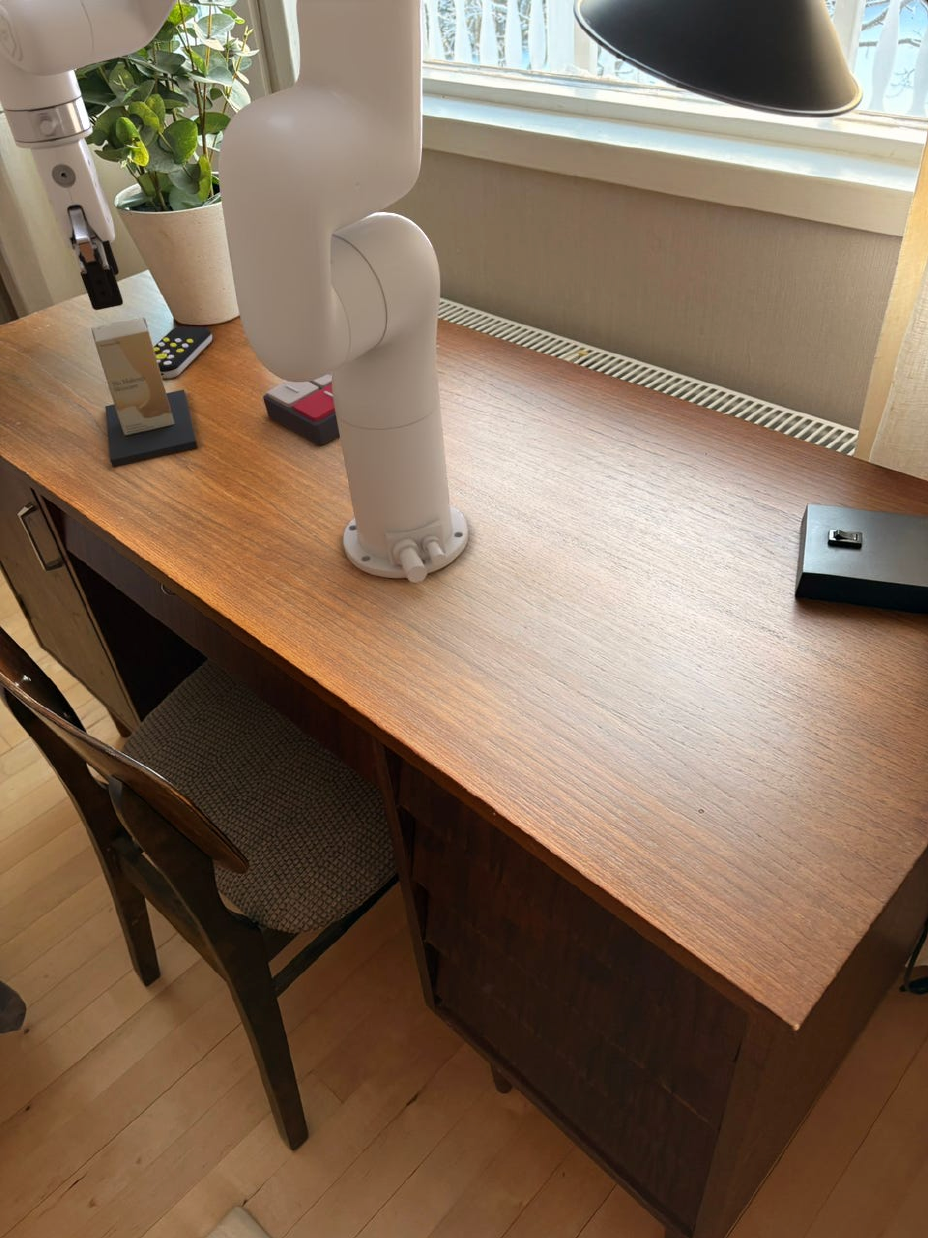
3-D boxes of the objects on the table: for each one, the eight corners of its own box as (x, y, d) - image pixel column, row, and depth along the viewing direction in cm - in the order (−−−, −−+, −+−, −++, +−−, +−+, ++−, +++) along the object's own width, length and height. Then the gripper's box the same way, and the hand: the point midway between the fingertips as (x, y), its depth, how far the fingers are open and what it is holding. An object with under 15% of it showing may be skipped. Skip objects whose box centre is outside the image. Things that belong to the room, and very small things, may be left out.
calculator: (259, 390, 114) (354, 340, 121) (268, 421, 117) (360, 370, 124) (313, 419, 108) (410, 365, 115) (321, 451, 111) (415, 396, 118)
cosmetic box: (124, 437, 113) (91, 342, 105) (120, 421, 117) (87, 327, 108) (178, 424, 115) (148, 329, 107) (172, 408, 118) (143, 315, 110)
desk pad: (198, 447, 112) (195, 440, 112) (112, 467, 110) (110, 459, 110) (185, 395, 122) (183, 389, 122) (107, 412, 121) (105, 405, 120)
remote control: (216, 338, 135) (213, 325, 134) (175, 380, 126) (171, 366, 125) (178, 336, 136) (174, 323, 135) (134, 378, 127) (130, 364, 126)
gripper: (90, 134, 88) (146, 312, 99) (86, 98, 100) (136, 259, 112) (6, 149, 86) (73, 327, 98) (13, 110, 99) (71, 271, 110)
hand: (107, 290), depth 105 cm, fingers open, 9 cm apart
